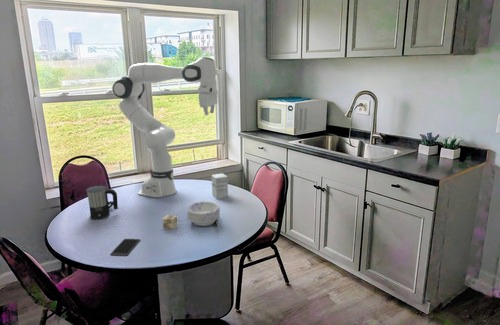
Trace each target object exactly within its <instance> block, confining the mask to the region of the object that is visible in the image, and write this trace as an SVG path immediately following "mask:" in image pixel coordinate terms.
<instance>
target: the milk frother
mask: <svg viewBox="0 0 500 325" xmlns="http://www.w3.org/2000/svg"><path fill="white" fill-rule="evenodd" d="M85 191H86V192H87V194H86V195H87V200H88V206H89V214H90V215H89V218H90V219H92V220H100V219H101V220H103V219H105V218H107V217H109V216H110V209H111V208H112V207H113V209H114V210H117V209H118V208H119V207H118V194H117V192H116V190H114V189H112V188H108V189H107V187H106V185H94V186H90V187H88V188H87V189H86V190H85ZM109 194H111V195H112V200H111V201H109V198H108V195H109Z"/></svg>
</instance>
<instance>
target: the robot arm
mask: <svg viewBox="0 0 500 325" xmlns="http://www.w3.org/2000/svg"><path fill="white" fill-rule="evenodd" d="M215 62H216V61H215V59H213V58H211V57H205V56H202V57H201V56H200V57H199V58H198V59H197V60H196V61H193V62H191V63H188V64H185V65H184V66H183V67H182V66H180V67H178V66H170V65H169V66H168V65H166V64H165V65H164V64H160V63H155V62H154V63H153V62H142V63H136V64H132V65H131V66H130V67H129V68H128V74H127V76H126V75H124V76H121V78H119V79H117V80H116V81H114V83H113V84H112V87H111V88H112V92H113V95H114V96H116V98H119V99H121V100H120V102H119V104H118V107H119V109H120V111H121V113H122V114H123V115H124V116H125V117H126V119H127V120H128V121H129V122H130V123H131V124H132V125H133V126H134V127H135V128H136V129H137V130H139V131H140V132H143V133H145V135H144V137H143V144H144V146H145V148H147V149H148V151H149V153H150V156H151V161H152V170H151V171H149V172H148V173H149V175H150V176H149V177H148V178H146V179H145V180H144V181H143V182H142V185H141V189H140V190H138V193H137V194H138V195H139V196H145V197H151V198H159V199H160V198H162V197H166V196H167V197H168V196H172V195H174V194H176V193H177V189H176V185H175V181H174V169H173V163H172V162H173V161H172V156H171V154H170V153H169V150H168V148H167V147H168V145H171V143H172V142H173V141H174V140H175V138H176V132H175V130H174V128H172V127H169V126H167V125H166V124H165V123H162V122H161V121H160V120H158V119H157V118H155V117H154V116H153V115H152V114H151V113H149V111H148V110H147V109H146V108H144V106H142V104H141V103H140V102H139V100H140V99H141V98H142V96H143V94H144V92H145V87H146V86H145V84H157V83H162V82H167V81H169V80H170V81H171V80H175V79H177V80H178V79H181V80H182V79H183V80H184V81H186V82H188V83H199V87H198V88H197V93H198V102H199V103H198V105H199V107H200V108H203V112H204V116H209V114H214V113H215V108H216V107H215V105H217V104H218V94H217V93H218V92H217V86H218V85H217V79H216V78H217V76H216V75H217V70H216V69H217V68H216V67H217V66H216V63H215ZM209 107H210V109H209Z"/></svg>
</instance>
